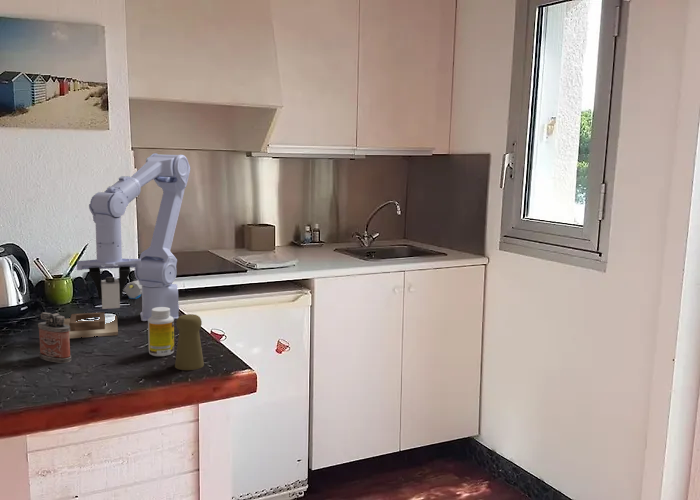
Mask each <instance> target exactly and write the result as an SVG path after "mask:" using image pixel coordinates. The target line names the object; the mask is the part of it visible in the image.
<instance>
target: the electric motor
mask: <svg viewBox="0 0 700 500" xmlns="http://www.w3.org/2000/svg"><path fill="white" fill-rule="evenodd" d="M123 292H125V294H126V295H127V296H128V299H129V300H130V299H131V300H137V299H139V298H142V285H139V281H138V280H137V279H136V280H133V281H131V282H129V283H127V284H126V286H124V289H123Z"/></svg>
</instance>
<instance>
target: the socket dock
mask: <svg viewBox="0 0 700 500" xmlns="http://www.w3.org/2000/svg"><path fill="white" fill-rule="evenodd" d="M105 316H106V312H104V311H103V312H99V311H98V312H84V313H83V312H82V313H71V314H70V318H64V324H65V325H68V326H70V331H69V337H70V339H80V338H81V337H82V338H95V337H96V336H98V337H111V336H119V327H118V315H114V316H115V320H114V321H112V322H110V323H106V324H105ZM92 317H100V319H99V320H94V321H78V320H81V319H86V318H92ZM76 321H77V322H76ZM94 336H95V337H94ZM82 338H81V339H82ZM96 338H97V337H96Z"/></svg>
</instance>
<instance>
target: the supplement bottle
mask: <svg viewBox="0 0 700 500" xmlns="http://www.w3.org/2000/svg"><path fill="white" fill-rule="evenodd" d="M147 339H148V340H147V341H148V353H149V355H151V356H153V357H165V356H167V357H168V356H170V355H172V354H174V352H175V319H174V318H173V317H172V316H170V308H168V307H156V308H153V309H152V317H150V318H149V319H148V321H147Z"/></svg>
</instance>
